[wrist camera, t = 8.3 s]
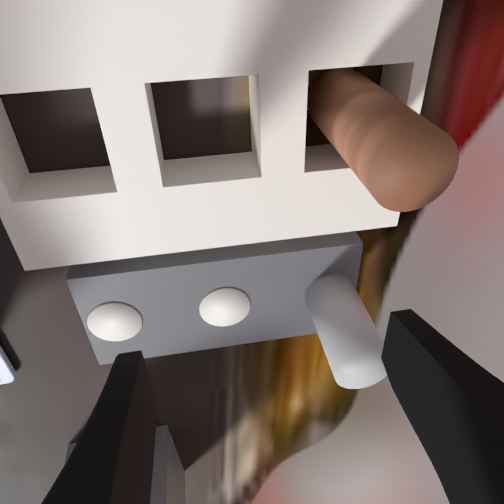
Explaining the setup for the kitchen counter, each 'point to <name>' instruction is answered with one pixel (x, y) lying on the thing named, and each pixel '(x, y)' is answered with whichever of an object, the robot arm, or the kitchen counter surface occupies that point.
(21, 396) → the kitchen counter surface
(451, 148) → the terracotta pin
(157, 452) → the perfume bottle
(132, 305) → the studded grey block
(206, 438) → the kitchen counter surface
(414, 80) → the peg board
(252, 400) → the kitchen counter surface
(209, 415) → the kitchen counter surface
